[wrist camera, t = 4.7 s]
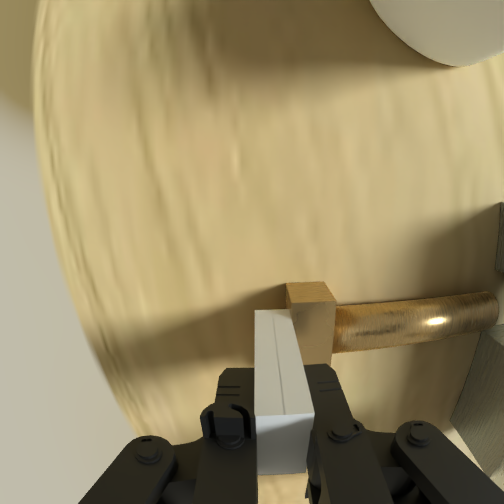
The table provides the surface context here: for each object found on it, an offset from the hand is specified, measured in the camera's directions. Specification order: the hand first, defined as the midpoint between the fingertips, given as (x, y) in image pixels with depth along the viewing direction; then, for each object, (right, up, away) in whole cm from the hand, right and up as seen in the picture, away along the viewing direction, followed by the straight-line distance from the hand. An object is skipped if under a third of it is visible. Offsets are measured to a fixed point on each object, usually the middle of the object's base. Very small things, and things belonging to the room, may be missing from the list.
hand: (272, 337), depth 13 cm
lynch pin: (+7, +1, +1) cm, 7 cm away
